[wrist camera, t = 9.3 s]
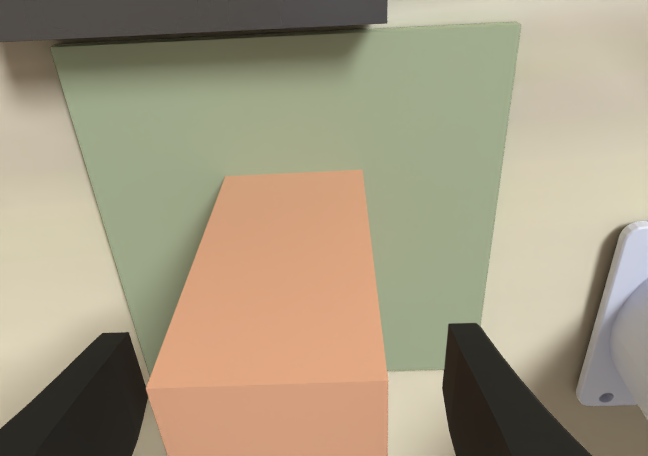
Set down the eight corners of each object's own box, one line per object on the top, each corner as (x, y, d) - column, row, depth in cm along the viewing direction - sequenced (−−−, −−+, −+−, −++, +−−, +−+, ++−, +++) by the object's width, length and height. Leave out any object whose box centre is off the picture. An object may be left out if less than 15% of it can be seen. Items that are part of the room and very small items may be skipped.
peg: (362, 169, 16) (388, 381, 9) (364, 280, 18) (387, 520, 11) (225, 176, 16) (145, 388, 9) (243, 285, 18) (190, 525, 11)
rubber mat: (516, 21, 14) (521, 25, 13) (472, 360, 20) (474, 368, 20) (56, 43, 14) (50, 47, 14) (153, 369, 20) (150, 377, 20)
